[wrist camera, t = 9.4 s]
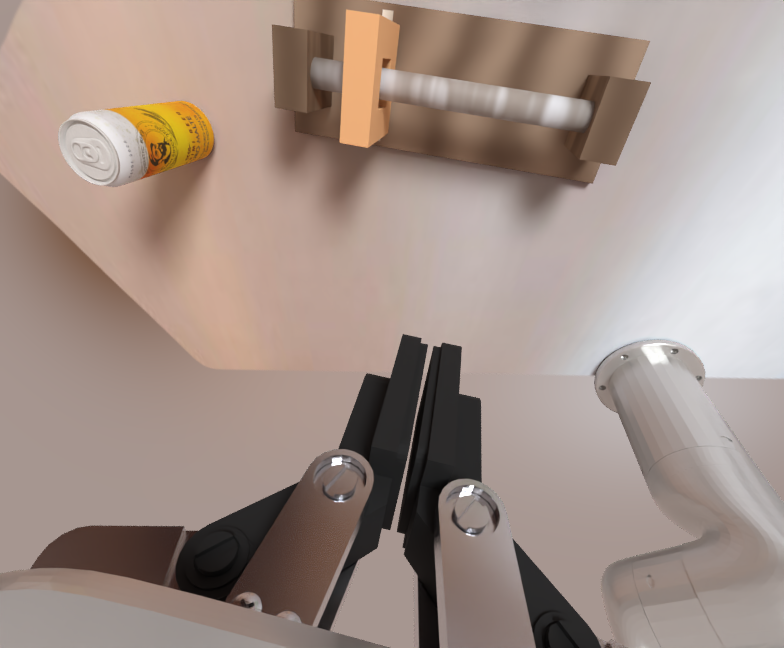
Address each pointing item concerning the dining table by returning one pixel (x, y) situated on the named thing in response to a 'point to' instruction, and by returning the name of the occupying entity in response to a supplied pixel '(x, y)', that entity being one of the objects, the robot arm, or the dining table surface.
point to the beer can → (134, 141)
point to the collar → (366, 77)
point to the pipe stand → (472, 87)
